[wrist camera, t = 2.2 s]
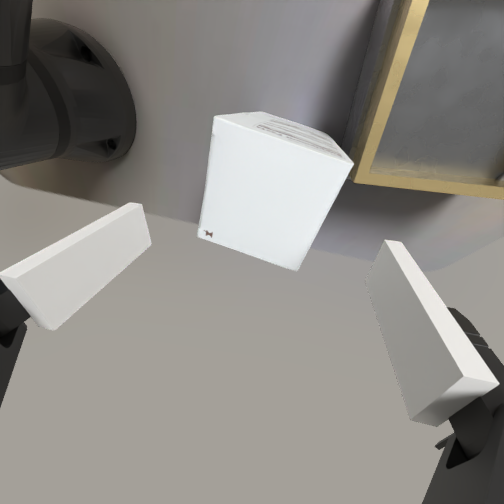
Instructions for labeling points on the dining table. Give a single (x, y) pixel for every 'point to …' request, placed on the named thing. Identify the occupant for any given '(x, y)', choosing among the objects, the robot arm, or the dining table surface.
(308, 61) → the dining table surface
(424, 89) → the gray square bin
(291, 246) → the supplement box
